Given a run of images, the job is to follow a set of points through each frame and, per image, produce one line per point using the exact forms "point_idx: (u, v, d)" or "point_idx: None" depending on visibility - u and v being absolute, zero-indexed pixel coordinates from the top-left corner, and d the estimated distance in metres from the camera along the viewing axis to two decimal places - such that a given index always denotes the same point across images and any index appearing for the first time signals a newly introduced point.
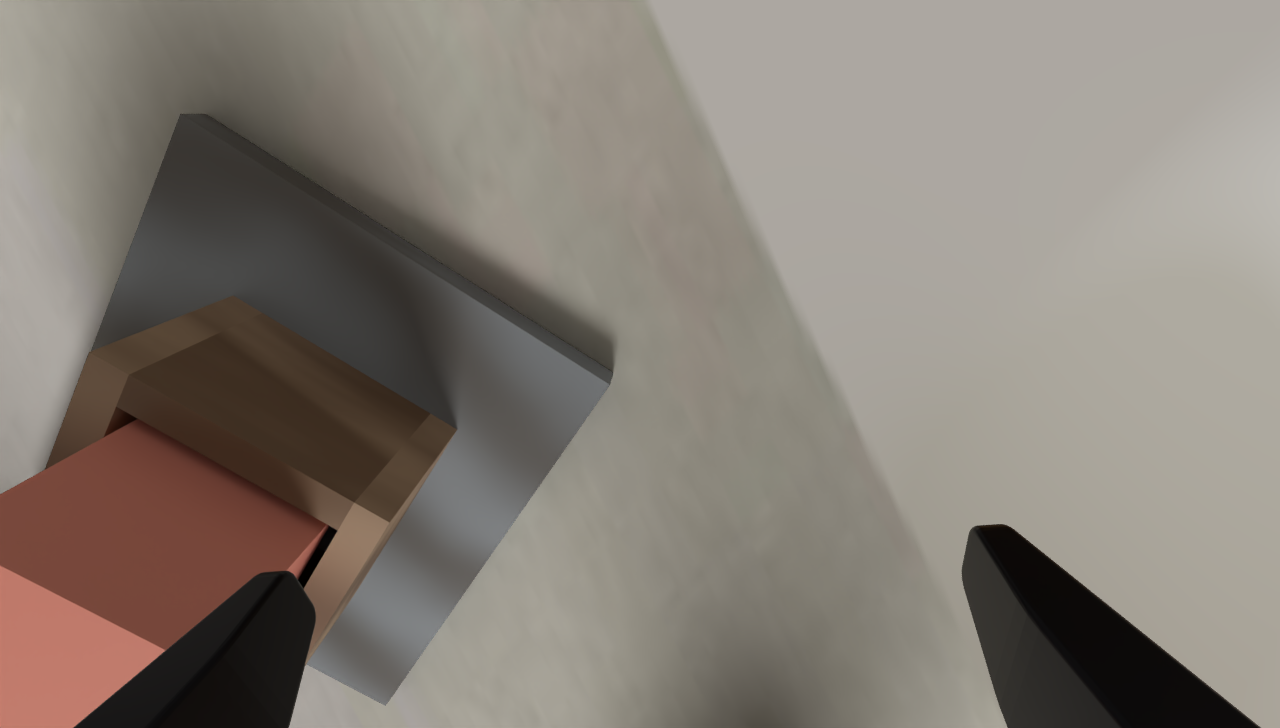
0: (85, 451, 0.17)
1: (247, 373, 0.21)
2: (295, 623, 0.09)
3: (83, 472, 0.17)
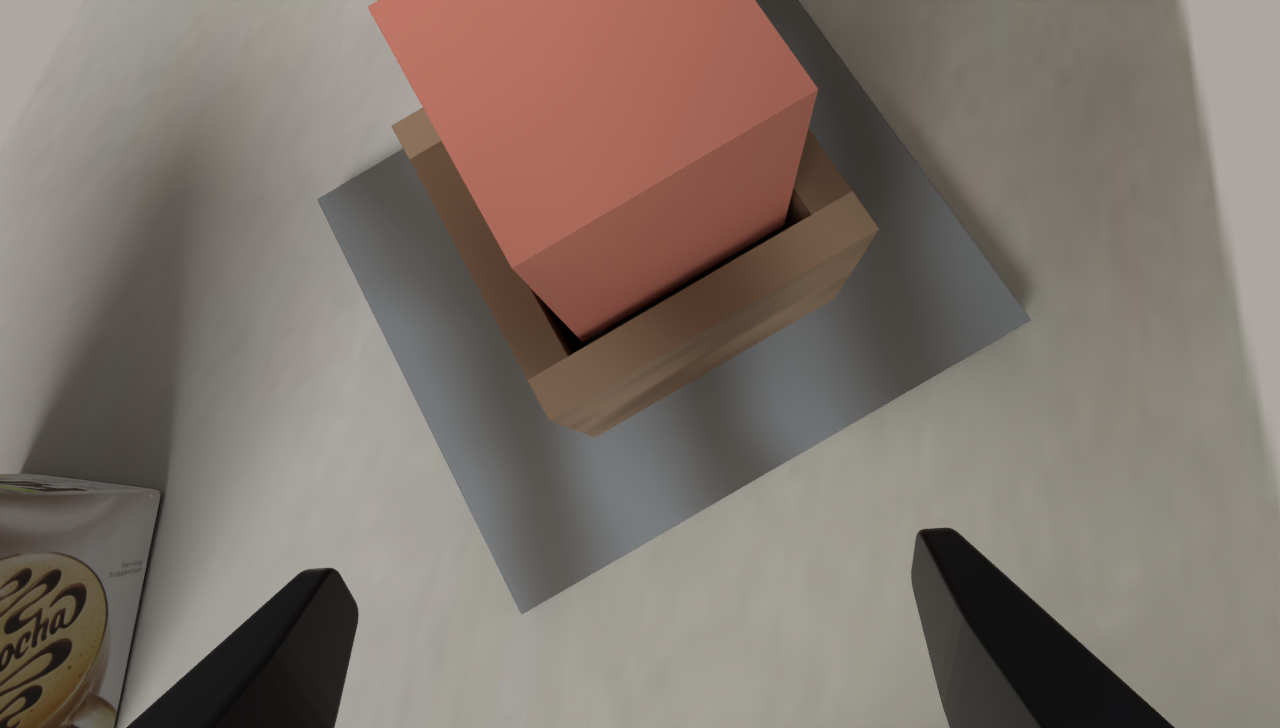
0: None
1: None
2: (340, 621, 0.09)
3: None
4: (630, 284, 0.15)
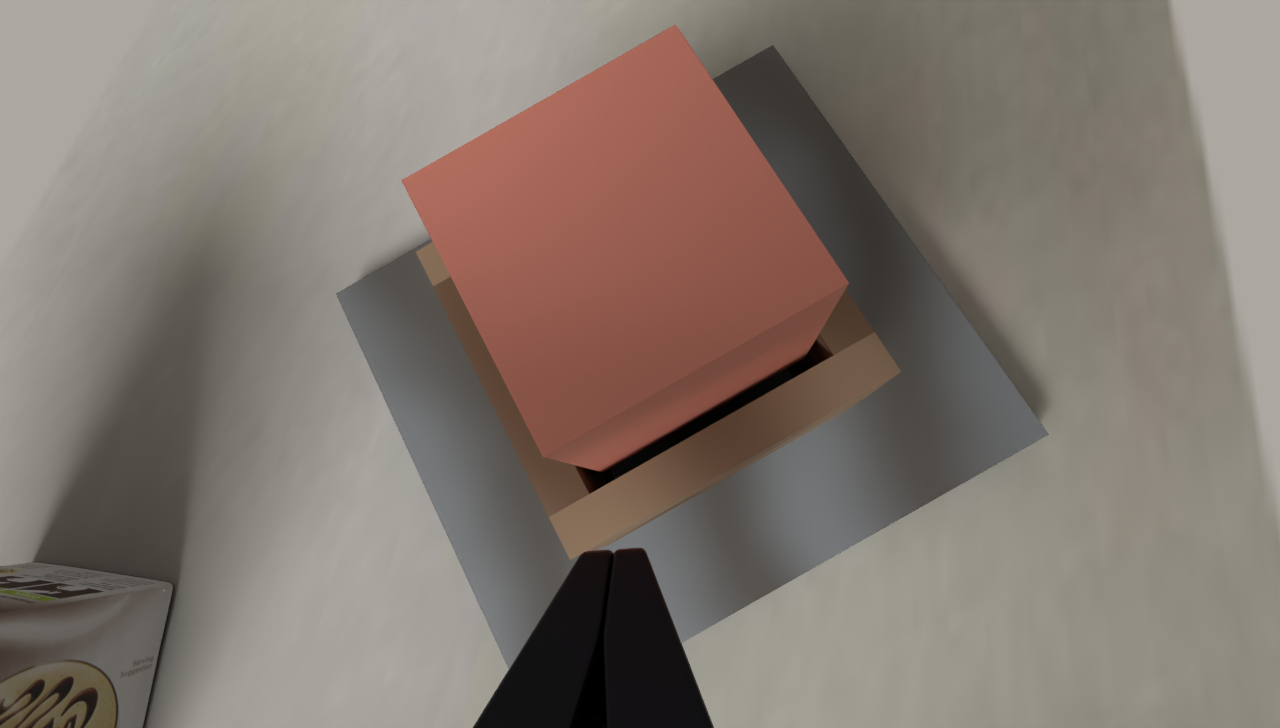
0: None
1: None
2: None
3: None
4: (654, 430, 0.15)
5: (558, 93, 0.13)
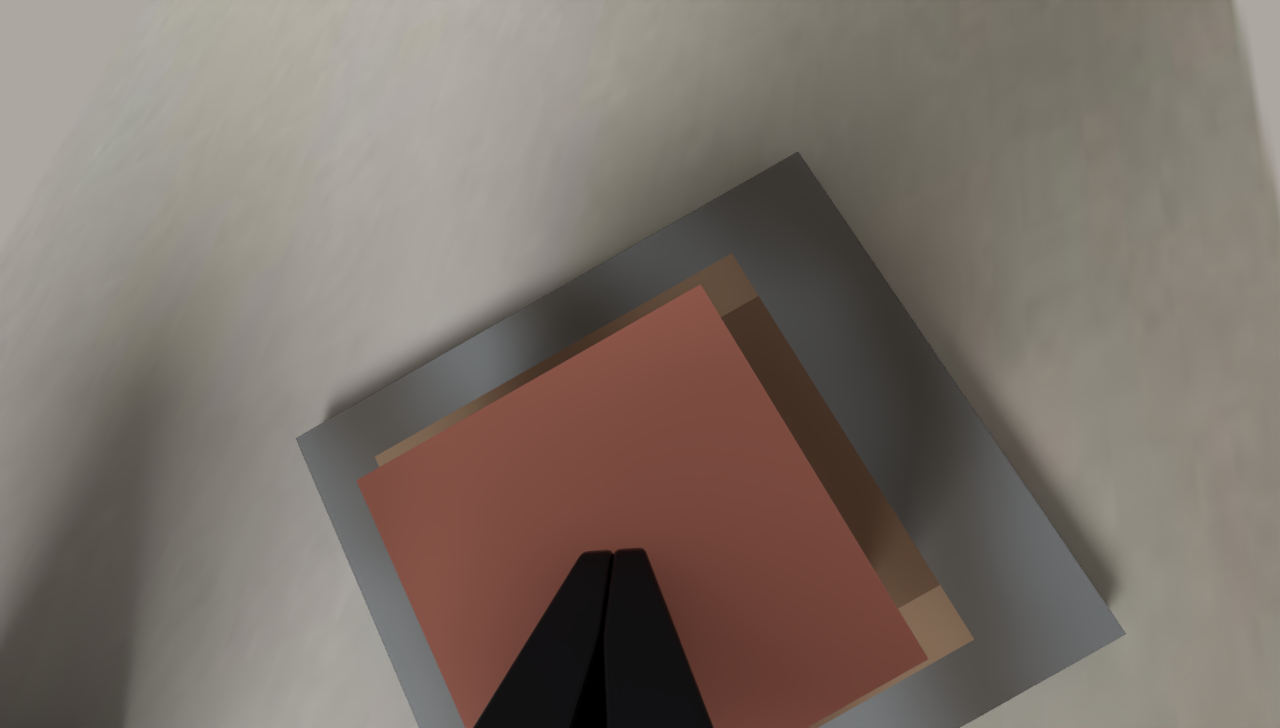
0: None
1: None
2: None
3: None
4: None
5: (552, 369, 0.10)
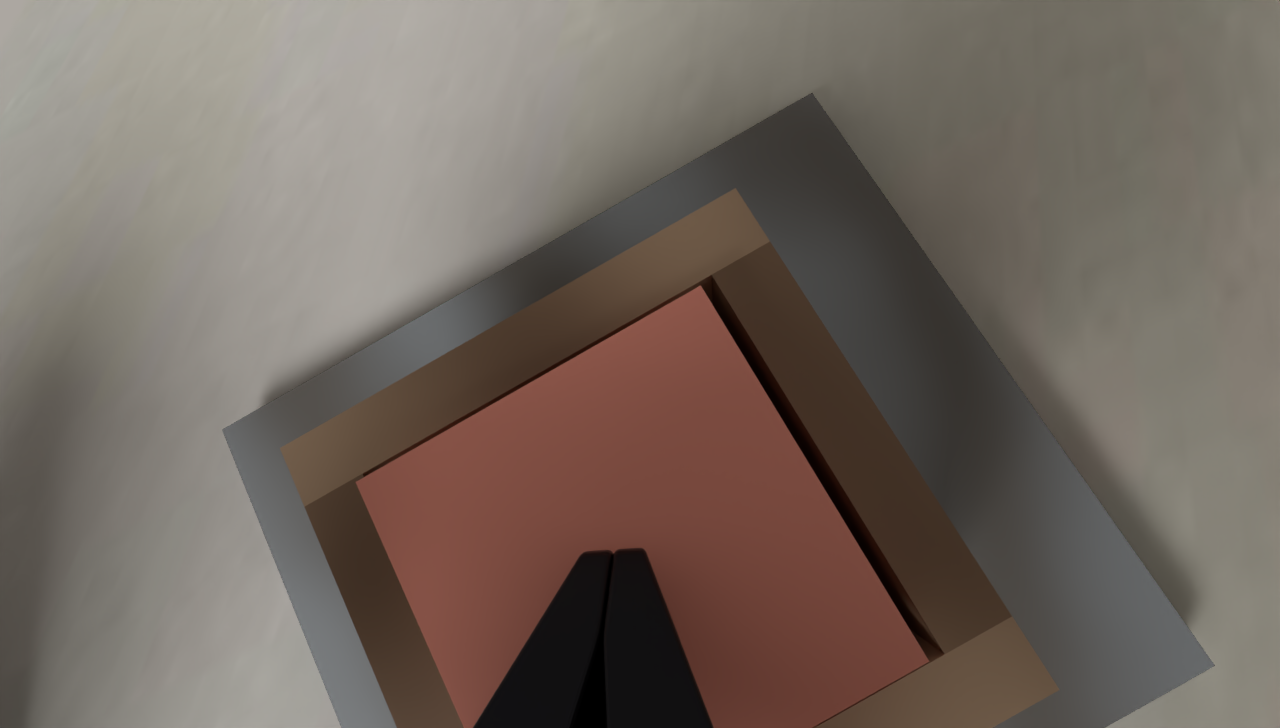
0: None
1: None
2: None
3: None
4: None
5: (553, 370, 0.10)
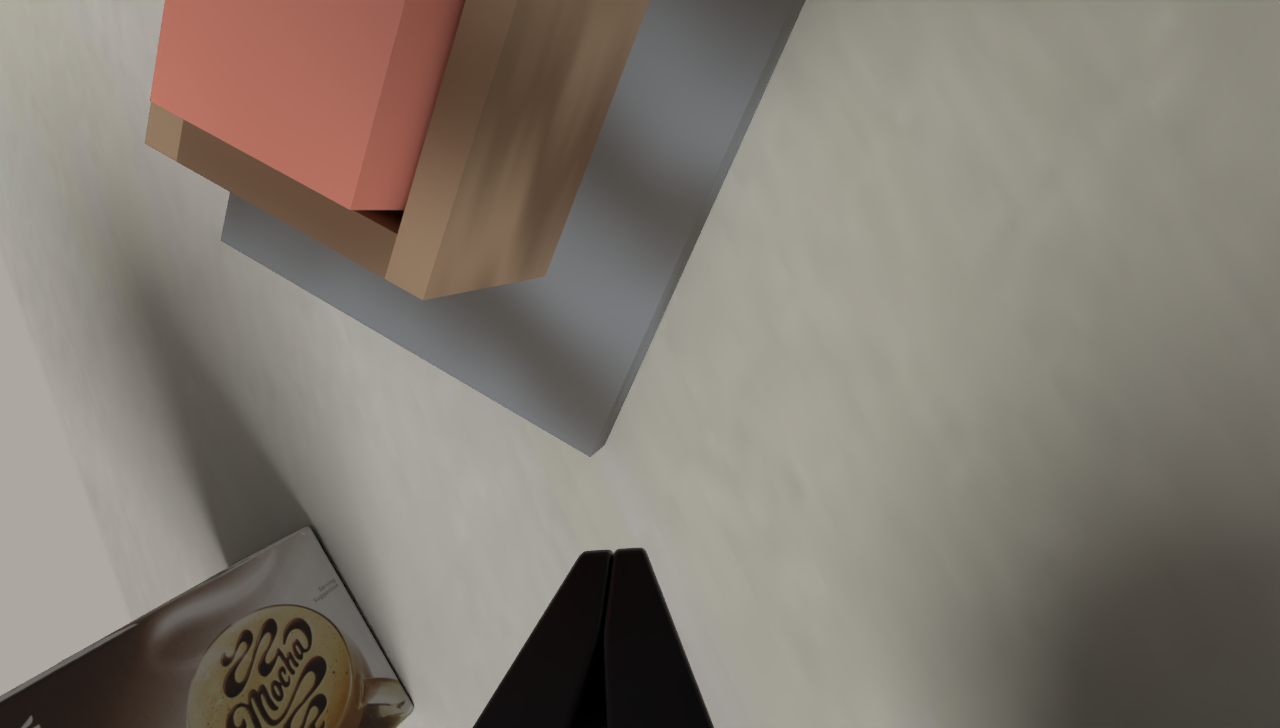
0: None
1: None
2: None
3: None
4: None
5: None
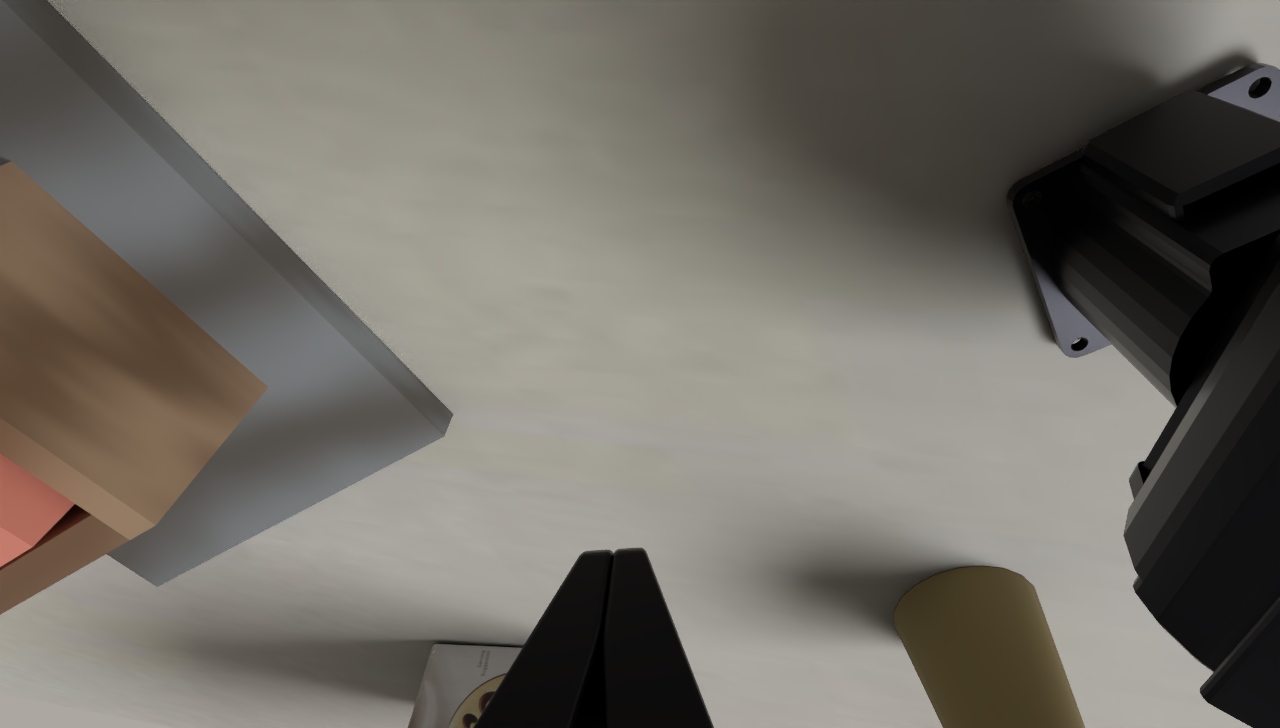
0: None
1: None
2: None
3: None
4: None
5: None
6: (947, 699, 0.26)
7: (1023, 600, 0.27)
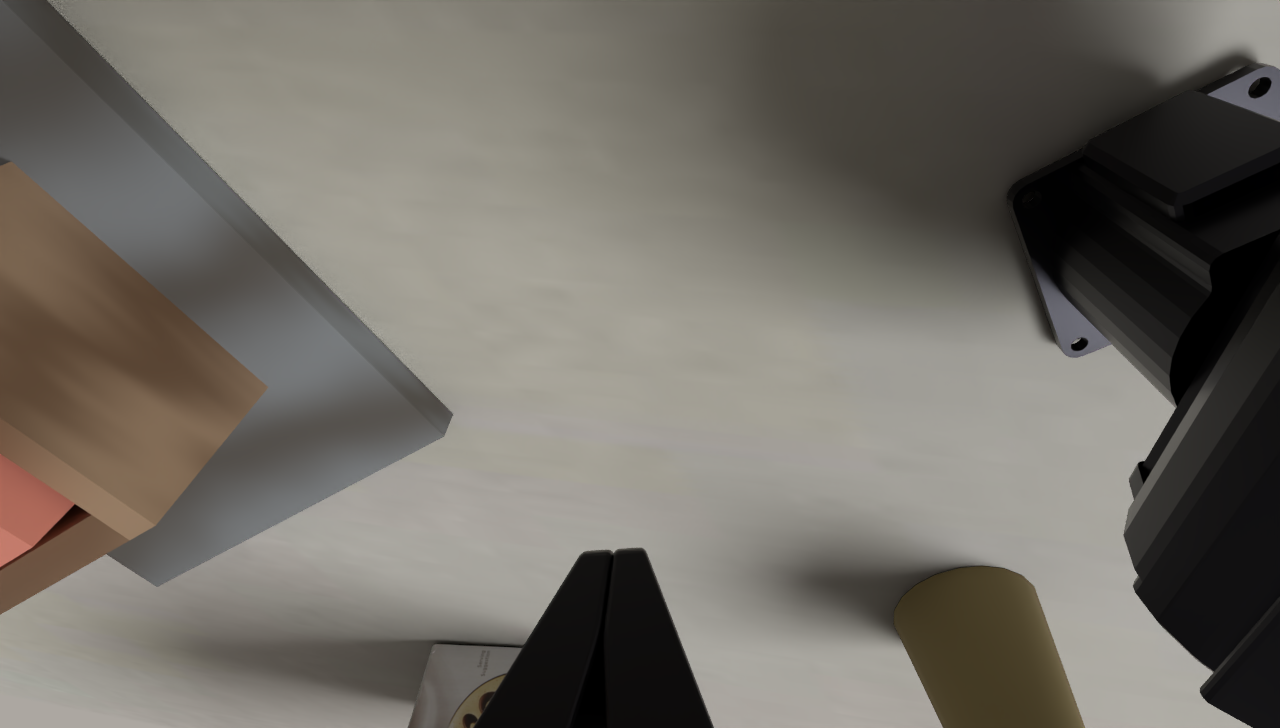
0: None
1: None
2: None
3: None
4: None
5: None
6: (947, 699, 0.26)
7: (1023, 600, 0.27)
